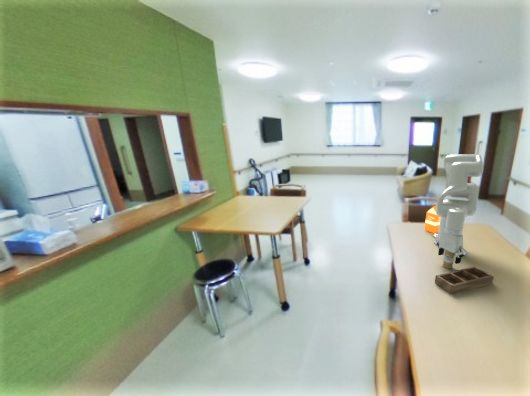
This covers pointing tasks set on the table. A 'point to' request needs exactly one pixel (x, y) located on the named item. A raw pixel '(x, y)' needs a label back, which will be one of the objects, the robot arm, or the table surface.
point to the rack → (463, 279)
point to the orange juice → (432, 221)
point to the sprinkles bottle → (448, 259)
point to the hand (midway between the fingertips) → (448, 258)
